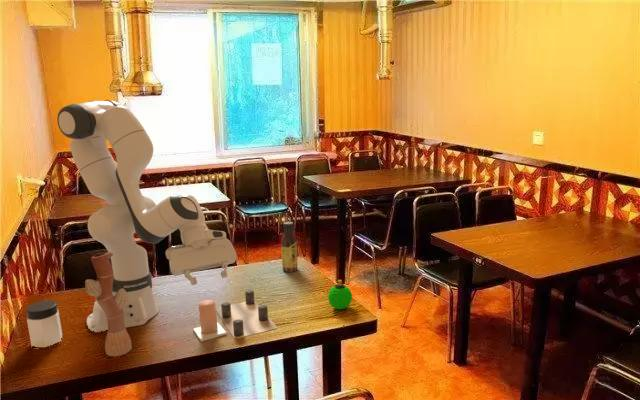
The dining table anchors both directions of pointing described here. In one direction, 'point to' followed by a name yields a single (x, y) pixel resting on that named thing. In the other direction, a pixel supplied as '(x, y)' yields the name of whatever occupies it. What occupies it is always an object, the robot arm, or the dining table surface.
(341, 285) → the ornament
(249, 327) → the post board
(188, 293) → the dining table surface
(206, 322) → the tan cylinder block
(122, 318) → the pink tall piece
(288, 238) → the sauce bottle
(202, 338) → the mat
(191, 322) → the dining table surface
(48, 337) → the jar
